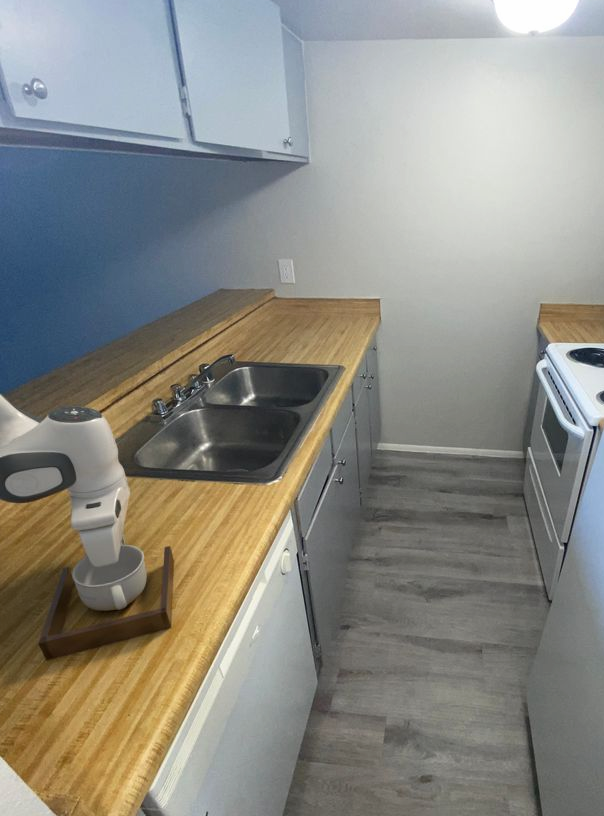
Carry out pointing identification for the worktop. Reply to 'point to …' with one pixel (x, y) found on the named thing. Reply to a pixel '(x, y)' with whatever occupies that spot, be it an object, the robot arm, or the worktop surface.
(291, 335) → the worktop surface
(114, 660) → the worktop surface
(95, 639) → the dish corral
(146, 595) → the worktop surface
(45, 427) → the robot arm
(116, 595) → the teacup
